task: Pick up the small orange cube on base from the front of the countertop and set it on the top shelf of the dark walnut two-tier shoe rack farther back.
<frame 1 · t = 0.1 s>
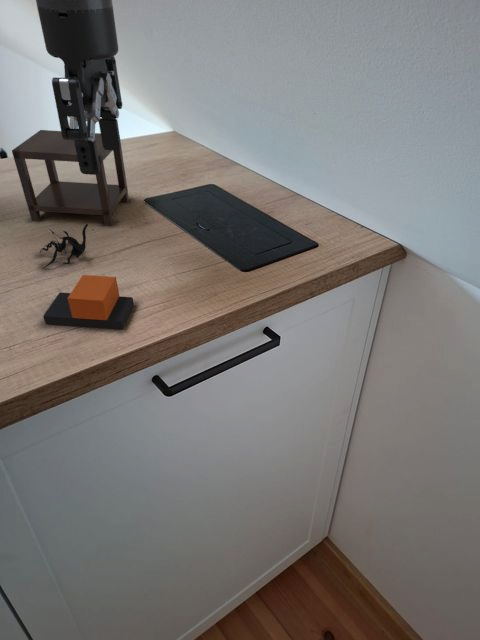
hand: (102, 160, 61), 17 cm above the worktop, tool pointing down, fingers open, 8 cm apart
creature: (64, 259, 76), on the worktop
rack: (82, 210, 89), on the worktop
orange cube on base: (91, 315, 65), on the worktop
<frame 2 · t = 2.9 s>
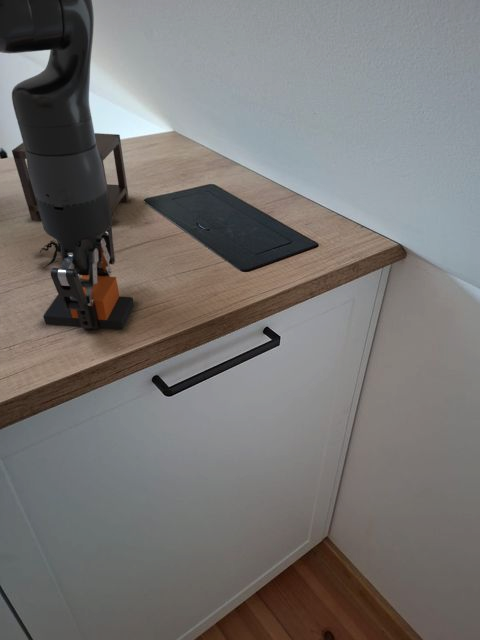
hand: (98, 312, 64), 1 cm above the worktop, tool pointing down, fingers closed on orange cube on base, 5 cm apart
orange cube on base: (91, 315, 65), on the worktop, touching gripper
everything else where it was.
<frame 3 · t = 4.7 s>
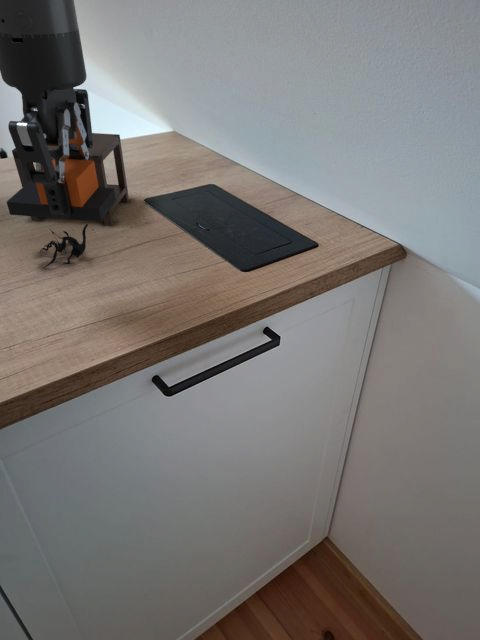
hand: (72, 203, 54), 16 cm above the worktop, tool pointing down, fingers closed on orange cube on base, 5 cm apart
orange cube on base: (65, 207, 55), point 15 cm above the worktop, touching gripper
everything else where it was.
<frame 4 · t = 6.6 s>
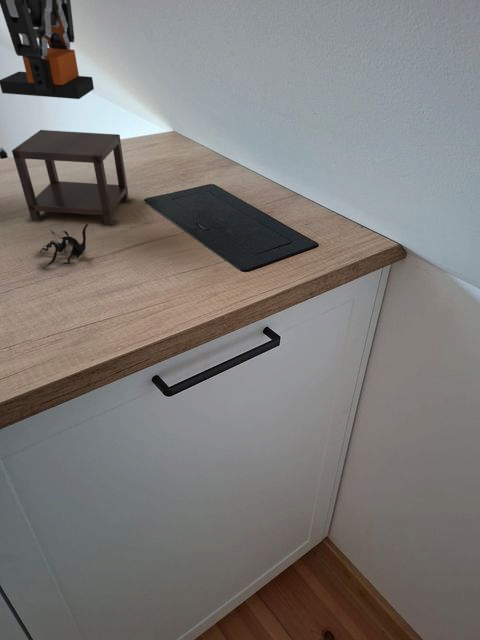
hand: (55, 87, 64), 23 cm above the worktop, tool pointing down, fingers closed on orange cube on base, 5 cm apart
orange cube on base: (49, 91, 64), point 23 cm above the worktop, touching gripper
everything else where it was.
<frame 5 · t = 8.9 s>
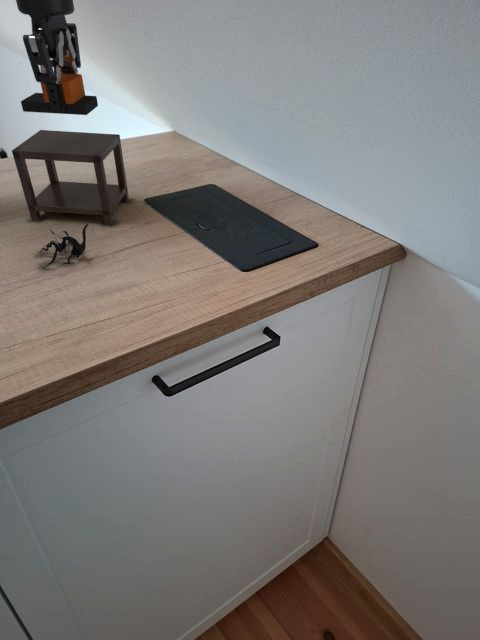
hand: (66, 105, 77), 18 cm above the worktop, tool pointing down, fingers closed on orange cube on base, 5 cm apart
orange cube on base: (61, 108, 78), point 17 cm above the worktop, touching gripper
everything else where it was.
when the fingers open (13 cm above the worktop, at t = 10.7 s): orange cube on base stays where it is, resting on rack.
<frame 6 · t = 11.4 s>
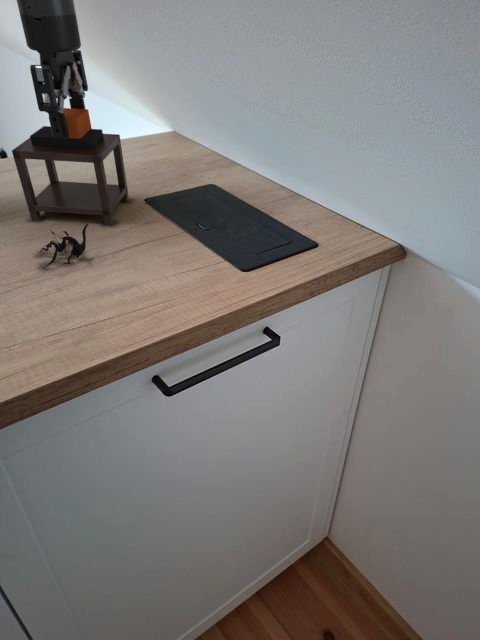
hand: (71, 130, 80), 14 cm above the worktop, tool pointing down, fingers open, 8 cm apart
orange cube on base: (68, 142, 81), point 12 cm above the worktop, touching rack
everything else where it was.
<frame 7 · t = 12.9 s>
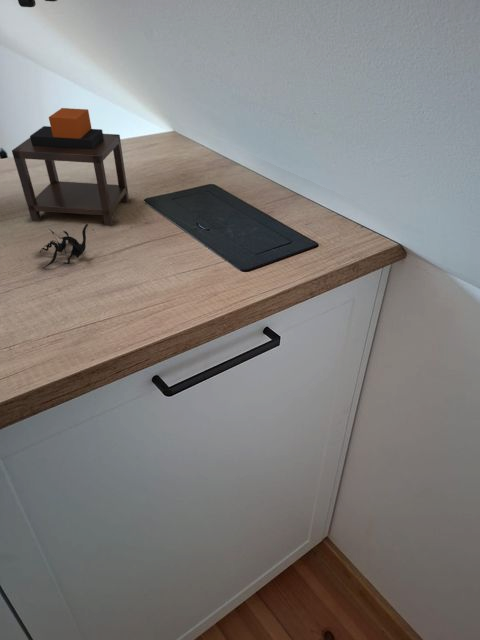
hand: (39, 3, 75), 30 cm above the worktop, tool pointing down, fingers open, 8 cm apart
nothing on the worktop moved.
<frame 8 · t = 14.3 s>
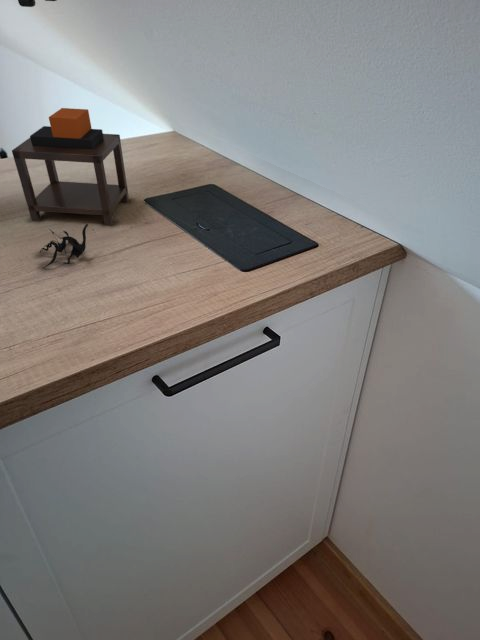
hand: (39, 3, 75), 30 cm above the worktop, tool pointing down, fingers open, 8 cm apart
nothing on the worktop moved.
at the end: orange cube on base inside the target area on the rack (0.1 cm from its centre), point 12.0 cm above the rack's base; orange cube on base tilted 0°; the gripper is holding nothing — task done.
